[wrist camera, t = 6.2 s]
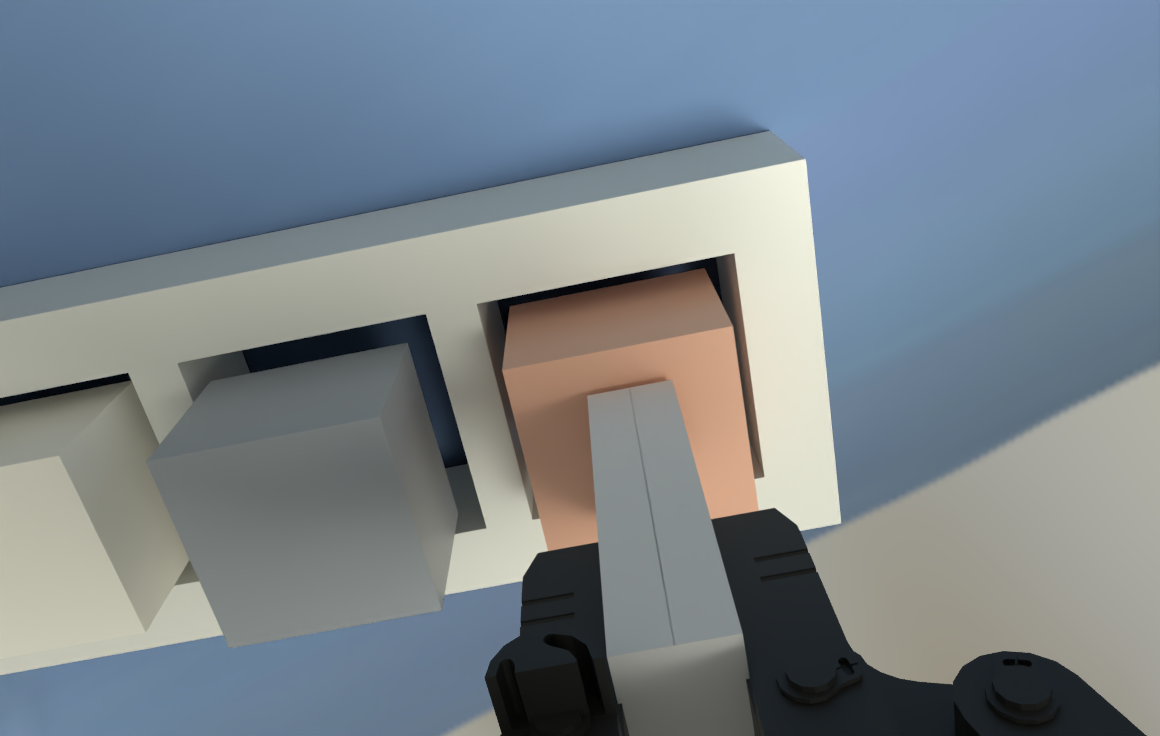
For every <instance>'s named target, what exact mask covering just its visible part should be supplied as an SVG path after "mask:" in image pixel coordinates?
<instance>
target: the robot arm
mask: <svg viewBox="0 0 1160 736" xmlns="http://www.w3.org/2000/svg"><path fill="white" fill-rule="evenodd" d="M587 399H588V412H589V425H590V439H591V452H592V465H593V479H594V492H595V505H596V519H597V532H598V542H596V543H590V544H584V545H579V546H573V547H568V548H562V549H557V550H551V551H546V552H540V553H537V555H536V557H535V558H534V560H533V561H532V563H531V565H530V566H529V568H528V570H527V571H526V573H525V574H524V576H523V585H522V606H521V627H520V636H519V637H517V638H516V639H514V640H513V641H511V642H509V643H508V644H506V645H505V646H503V648H502V649H501V650H500V651H499V652H498V653H497V654H496V655H495V657H494V658H493V659H492V660H491V661H490V664H489V667H488V670H487V673H486V675H485V681H486V684H487V687H488V691H489V694H490V697H491V700H492V703H493V707H494V710H495V713H496V716H497V719H498V723H499V726H500V729H501V732H502V734H501V735H500V736H1146V735H1145V734H1144V733H1143V732H1142V731H1140V730H1139V729H1138V728H1137V727H1136V726H1135V725H1134V724H1132V723H1131V722H1130V721H1129V720H1128V719H1127V718H1126V717H1124V716H1123V715H1122V714H1121V713H1120V712H1119V711H1118V710H1117V709H1115V708H1114V707H1113V706H1112V705H1111V704H1109V703H1108V702H1107V701H1106V700H1105V699H1104V698H1103V697H1102V696H1101V695H1099V694H1098V693H1097V692H1096V691H1095V690H1094V689H1093V688H1091V687H1090V686H1089V685H1088V684H1087V683H1086V682H1085V681H1083V680H1082V679H1081V678H1080V677H1079V676H1078V675H1076V674H1075V673H1073V672H1072V671H1070V670H1068V669H1067V668H1065V667H1064V666H1062V665H1061V664H1059V663H1058V662H1056V661H1053V660H1050V659H1047V658H1044V657H1041V656H1038V655H1034V654H1031V653H1022V652H1007V651H1002V652H997V653H992V654H987V655H983V656H979V657H978V658H976V659H974V660H973V661H971V662H969V663H968V664H966V665H964V666H963V667H962V668H961V670H960V671H959V673H958V675H957V676H956V678H955V680H954V681H953V685H952V684H939V683H927V682H917V681H911V680H905V679H899V678H896V677H893V676H890V675H887V674H884V673H881V672H879V671H878V670H876V669H874V668H873V667H871V666H869V665H867V663H866V662H865V661H864V659H863V658H862V657H861V655H859V654H857V653H856V652H854V651H853V650H852V648H851V647H850V645H849V644H848V642H847V640H846V638H845V635H844V633H843V631H842V628H841V626H840V624H839V621H838V619H837V617H836V614H835V612H834V610H833V607H832V605H831V603H830V600H829V598H828V596H827V593H826V591H825V588H824V586H823V584H822V581H821V579H820V577H819V574H818V572H816V568H815V565H814V563H813V561H812V558H811V556H810V554H809V553H808V549H807V546H806V544H805V542H804V539H803V537H802V535H801V532H800V530H799V528H798V525H796V524H795V523H794V522H793V521H791V520H790V519H789V518H787V517H786V516H785V515H783V514H782V513H781V512H780V511H778V510H777V509H776V508H771V509H765V510H759V511H754V512H748V513H743V514H737V515H732V516H726V517H721V518H715V519H711V518H710V514H709V511H708V507H707V503H706V500H705V496H704V493H703V489H702V486H701V482H700V478H699V475H698V471H697V468H696V464H695V460H694V457H693V453H692V450H691V446H690V442H689V439H688V435H687V432H686V428H685V424H684V421H683V417H682V414H681V410H680V406H679V403H678V399H677V396H676V392H675V388H674V385H673V381H672V380H668V381H662V382H657V383H652V384H646V385H641V386H636V387H631V388H625V389H620V390H615V391H610V392H604V393H599V394H594V395H588V396H587Z"/></svg>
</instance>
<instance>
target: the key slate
mask: <svg viewBox="0 0 1160 736" xmlns="http://www.w3.org/2000/svg"><path fill="white" fill-rule="evenodd" d="M146 463H147V466H148V468H149V470H150V472H151V475H152V477H153V479H154V481H155V484H156V486H157V488H158V490H159V492H160V495H161V497H162V499H163V501H164V504H165V506H166V508H167V510H168V513H169V515H170V517H171V519H172V521H173V524H174V526H175V528H176V530H177V533H178V535H179V537H180V539H181V542H182V544H183V546H184V548H185V550H186V553H187V555H188V557H189V559H190V562H191V564H192V566H193V568H194V571H195V573H196V575H197V577H198V579H199V582H200V584H201V586H202V588H203V591H204V593H205V595H206V597H207V600H208V602H209V604H210V606H211V608H212V611H213V613H214V615H215V617H216V620H217V622H218V624H219V626H220V629H221V631H222V633H223V635H224V637H225V640H226V642H227V644H228V646H229V648H235V647H240V646H246V645H251V644H257V643H262V642H268V641H274V640H279V639H285V638H290V637H296V636H301V635H307V634H313V633H318V632H324V631H329V630H335V629H340V628H346V627H352V626H357V625H363V624H368V623H374V622H379V621H385V620H391V619H396V618H402V617H407V616H413V615H418V614H424V613H430V612H435V611H441V610H442V607H443V601H444V595H445V589H446V583H447V577H448V571H449V565H450V559H451V553H452V547H453V542H454V536H455V530H456V524H457V518H458V511H457V507H456V504H455V501H454V497H453V494H452V490H451V487H450V484H449V480H448V477H447V474H446V470H445V467H444V464H443V460H442V457H441V453H440V450H439V447H438V443H437V440H436V437H435V433H434V430H433V426H432V423H431V420H430V416H429V413H428V410H427V406H426V403H425V400H424V396H423V393H422V389H421V386H420V383H419V379H418V376H417V373H416V369H415V366H414V362H413V359H412V356H411V352H410V349H409V346H408V343H402V344H397V345H392V346H387V347H382V348H377V349H372V350H367V351H362V352H356V353H351V354H346V355H341V356H336V357H331V358H326V359H321V360H316V361H311V362H305V363H300V364H295V365H290V366H285V367H280V368H275V369H270V370H265V371H259V372H254V373H249V374H244V375H239V376H234V377H229V378H224V379H219V380H213V381H210V382H209V384H208V385H207V386H206V387H205V389H204V390H203V391H202V392H201V394H200V395H199V396H198V397H197V399H196V400H195V401H194V402H193V404H192V405H191V406H190V407H189V409H188V410H187V411H186V412H185V414H184V415H183V416H182V417H181V419H180V420H179V421H178V422H177V424H176V425H175V426H174V427H173V429H172V430H171V431H170V432H169V434H168V435H167V436H166V437H165V439H164V440H163V441H162V442H161V444H160V445H159V446H158V447H157V449H156V450H155V451H154V452H153V453H152V455H151V456H150V457H149V458H148V460H147V461H146Z"/></svg>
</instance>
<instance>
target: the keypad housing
mask: <svg viewBox="0 0 1160 736" xmlns="http://www.w3.org/2000/svg"><path fill="white" fill-rule="evenodd" d="M712 257H716V261H717V268H718V275H719V282H720V289H721V296H722V303H723V307H724V309H725V311H726V313H727V315H728V317H729V319H730V321H731V323H732V325H733V330H734V337H735V344H736V351H737V358H738V365H739V372H740V380H741V387H742V394H743V401H744V408H745V415H746V423H747V430H748V437H749V444H750V451H751V458H752V465H753V473H754V480H755V487H756V494H757V501H758V508H759V510H765V509H771V508H776V509H777V510H778V511H780V512H781V513H782V514H783V515H785V516H786V517H787V518H789V519H790V520H791V521H793V522H794V523H795V524H796V525H798V528H799V530H800V531H802V530H807V529H813V528H818V527H824V526H830V525H835V524H841V517H840V506H839V496H838V486H837V476H836V465H835V455H834V445H833V435H832V424H831V414H830V404H829V393H828V383H827V373H826V363H825V352H824V342H823V332H822V322H821V311H820V301H819V291H818V281H817V270H816V260H815V250H814V240H813V229H812V219H811V209H810V199H809V188H808V178H807V168H806V159H805V158H804V157H803V156H801V155H800V154H799V153H797V152H796V151H795V150H794V149H792V148H791V147H790V146H789V145H787V144H786V143H785V142H784V141H782V140H781V139H780V138H779V137H777V136H776V135H775V134H774V133H772V132H771V131H766V132H761V133H756V134H751V135H746V136H741V137H736V138H732V139H727V140H722V141H717V142H712V143H707V144H702V145H697V146H692V147H687V148H683V149H678V150H673V151H668V152H663V153H658V154H653V155H648V156H643V157H638V158H634V159H629V160H624V161H619V162H614V163H609V164H604V165H599V166H594V167H589V168H585V169H580V170H575V171H570V172H565V173H560V174H555V175H550V176H545V177H540V178H535V179H531V180H526V181H521V182H516V183H511V184H506V185H501V186H496V187H491V188H486V189H482V190H477V191H472V192H467V193H462V194H457V195H452V196H447V197H442V198H437V199H433V200H428V201H423V202H418V203H413V204H408V205H403V206H398V207H393V208H388V209H384V210H379V211H374V212H369V213H364V214H359V215H354V216H349V217H344V218H339V219H335V220H330V221H325V222H320V223H315V224H310V225H305V226H300V227H295V228H290V229H286V230H281V231H276V232H271V233H266V234H261V235H256V236H251V237H246V238H241V239H237V240H232V241H227V242H222V243H217V244H212V245H207V246H202V247H197V248H192V249H187V250H183V251H178V252H173V253H168V254H163V255H158V256H153V257H148V258H143V259H138V260H134V261H129V262H124V263H119V264H114V265H109V266H104V267H99V268H94V269H89V270H85V271H80V272H75V273H70V274H65V275H60V276H55V277H50V278H45V279H40V280H36V281H31V282H26V283H21V284H16V285H11V286H6V287H1V288H0V398H3V397H8V396H13V395H18V394H23V393H28V392H33V391H38V390H43V389H48V388H53V387H58V386H64V385H69V384H74V383H79V382H84V381H89V380H94V379H99V378H104V377H109V376H114V375H119V374H124V373H128V374H129V376H130V378H131V380H132V383H133V385H134V387H135V390H136V392H137V394H138V396H139V399H140V401H141V403H142V406H143V408H144V410H145V412H146V415H147V417H148V419H149V422H150V424H151V426H152V428H153V431H154V433H155V435H156V438H157V440H158V442H159V444H161V442H162V441H163V440H164V439H165V437H166V436H167V435H168V434H169V432H170V431H171V430H172V429H173V427H174V426H175V425H176V424H177V422H178V421H179V420H180V419H181V417H182V416H183V415H184V414H185V412H186V411H187V410H188V409H189V407H190V406H191V405H192V404H193V402H194V401H195V400H196V399H197V397H198V396H199V395H200V394H201V392H202V391H203V390H204V389H205V387H206V386H207V385H208V384H209V382H210V381H213V380H219V379H224V378H229V377H234V376H239V375H244V374H249V373H250V371H249V369H248V366H247V363H246V361H245V358H244V355H243V353H242V350H246V349H251V348H256V347H261V346H266V345H271V344H276V343H281V342H287V341H292V340H297V339H302V338H307V337H312V336H317V335H322V334H327V333H332V332H337V331H342V330H347V329H352V328H357V327H363V326H368V325H373V324H378V323H383V322H388V321H393V320H398V319H403V318H408V317H413V316H418V315H423V314H426V316H427V320H428V324H429V327H430V331H431V334H432V338H433V341H434V345H435V348H436V352H437V355H438V359H439V362H440V366H441V369H442V373H443V376H444V380H445V383H446V387H447V390H448V394H449V397H450V401H451V404H452V408H453V411H454V415H455V418H456V422H457V426H458V429H459V433H460V436H461V440H462V443H463V447H464V450H465V454H466V457H467V461H468V464H465V465H460V466H455V467H449V468H445V470H446V474H447V477H448V480H449V484H450V487H451V490H452V494H453V497H454V501H455V504H456V507H457V511H458V518H457V524H456V530H455V536H454V542H453V547H452V553H451V559H450V565H449V571H448V577H447V583H446V589H445V595H447V594H453V593H458V592H464V591H469V590H475V589H480V588H486V587H491V586H497V585H502V584H508V583H514V582H519V581H523V576H524V574H525V573H526V571H527V570H528V568H529V566H530V565H531V563H532V561H533V560H534V558H535V557H536V555H537V553H540V552H546V551H548V549H547V545H546V541H545V537H544V533H543V529H542V525H541V521H540V517H539V513H538V509H537V505H536V502H535V498H534V494H533V490H532V486H531V482H530V478H529V474H528V470H527V466H526V462H525V458H524V454H523V451H522V447H521V443H520V439H519V435H518V431H517V427H516V423H515V419H514V415H513V411H512V407H511V404H510V400H509V396H508V392H507V388H506V384H505V380H504V376H503V372H502V367H503V359H504V350H505V342H506V334H505V330H504V326H503V322H502V318H501V314H500V310H499V306H498V302H497V300H499V299H504V298H510V297H515V296H520V295H525V294H530V293H535V292H540V291H545V290H550V289H555V288H560V287H565V286H570V285H575V284H580V283H586V282H591V281H596V280H601V279H606V278H611V277H616V276H621V275H626V274H631V273H636V272H641V271H646V270H651V269H657V268H662V267H667V266H672V265H677V264H682V263H687V262H692V261H697V260H702V259H707V258H712ZM220 635H223V633H222V631H221V629H220V626H219V624H218V622H217V620H216V617H215V615H214V613H213V611H212V608H211V606H210V604H209V602H208V600H207V597H206V595H205V593H204V591H203V588H202V586H201V584H200V582H199V579H198V577H197V575H196V573H195V571H194V568H193V566H192V564H191V562H190V560H189V562H188V563H187V565H186V567H185V568H184V570H183V572H182V573H181V575H180V577H179V578H178V580H177V582H176V583H175V585H174V587H173V588H172V590H171V592H170V593H169V595H168V597H167V598H166V600H165V602H164V603H163V605H162V607H161V608H160V610H159V612H158V613H157V615H156V617H155V618H154V620H153V622H152V623H151V625H150V627H149V628H148V630H147V632H146V633H141V634H136V635H130V636H125V637H119V638H113V639H108V640H102V641H97V642H91V643H86V644H80V645H75V646H69V647H64V648H58V649H53V650H47V651H42V652H36V653H31V654H25V655H20V656H14V657H9V658H3V659H0V675H4V674H9V673H15V672H20V671H26V670H31V669H37V668H42V667H48V666H54V665H59V664H65V663H70V662H76V661H81V660H87V659H92V658H98V657H103V656H109V655H114V654H120V653H126V652H131V651H137V650H142V649H148V648H153V647H159V646H164V645H170V644H175V643H181V642H187V641H192V640H198V639H203V638H209V637H214V636H220Z"/></svg>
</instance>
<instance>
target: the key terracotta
mask: <svg viewBox="0 0 1160 736" xmlns="http://www.w3.org/2000/svg"><path fill="white" fill-rule="evenodd" d="M502 372H503V376H504V380H505V384H506V388H507V392H508V396H509V400H510V404H511V407H512V411H513V415H514V419H515V423H516V427H517V431H518V435H519V439H520V443H521V447H522V451H523V454H524V458H525V462H526V466H527V470H528V474H529V478H530V482H531V486H532V490H533V494H534V498H535V502H536V505H537V509H538V513H539V517H540V521H541V525H542V529H543V533H544V537H545V541H546V545H547V549H548V551H551V550H557V549H562V548H568V547H573V546H579V545H584V544H590V543H596V542H598V532H597V519H596V505H595V492H594V479H593V465H592V452H591V439H590V425H589V412H588V399H587V396H588V395H594V394H599V393H604V392H610V391H615V390H620V389H625V388H631V387H636V386H641V385H646V384H652V383H657V382H662V381H668V380H672V381H673V385H674V388H675V392H676V396H677V399H678V403H679V406H680V410H681V414H682V417H683V421H684V424H685V428H686V432H687V435H688V439H689V442H690V446H691V450H692V453H693V457H694V460H695V464H696V468H697V471H698V475H699V478H700V482H701V486H702V489H703V493H704V496H705V500H706V503H707V507H708V511H709V514H710V518H711V519H715V518H721V517H726V516H732V515H737V514H743V513H748V512H754V511H759V508H758V501H757V494H756V487H755V480H754V473H753V465H752V458H751V451H750V444H749V437H748V430H747V423H746V415H745V408H744V401H743V394H742V387H741V380H740V372H739V365H738V358H737V351H736V344H735V337H734V330H733V325H732V323H731V321H730V319H729V317H728V315H727V313H726V311H725V309H724V307H723V305H722V303H721V301H720V298H719V296H718V294H717V292H716V290H715V288H714V286H713V284H712V282H711V280H710V278H709V276H708V274H707V272H706V270H705V268H702V269H696V270H691V271H686V272H681V273H676V274H671V275H666V276H661V277H656V278H651V279H646V280H641V281H635V282H630V283H625V284H620V285H615V286H610V287H605V288H600V289H595V290H590V291H585V292H580V293H574V294H569V295H564V296H559V297H554V298H549V299H544V300H539V301H534V302H529V303H524V304H519V305H514V306H510V308H509V317H508V325H507V334H506V342H505V350H504V359H503V367H502Z"/></svg>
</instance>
